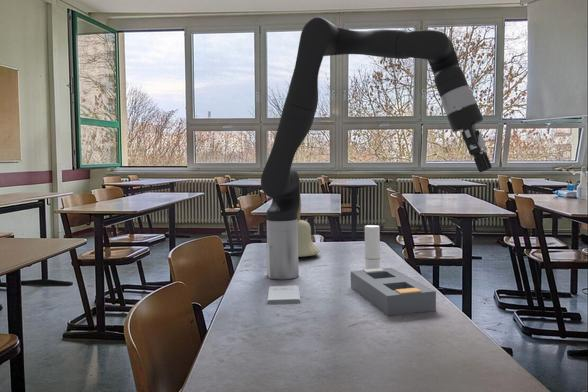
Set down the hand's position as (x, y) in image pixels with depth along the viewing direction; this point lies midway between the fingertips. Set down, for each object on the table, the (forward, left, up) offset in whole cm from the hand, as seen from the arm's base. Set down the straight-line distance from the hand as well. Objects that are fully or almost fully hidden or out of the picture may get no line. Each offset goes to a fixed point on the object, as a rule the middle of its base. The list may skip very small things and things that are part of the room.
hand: (486, 170), depth 117 cm
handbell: (-33, +62, -32) cm, 77 cm away
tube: (-19, +27, -32) cm, 46 cm away
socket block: (-23, +6, -31) cm, 39 cm away
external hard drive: (-48, +16, -32) cm, 60 cm away
